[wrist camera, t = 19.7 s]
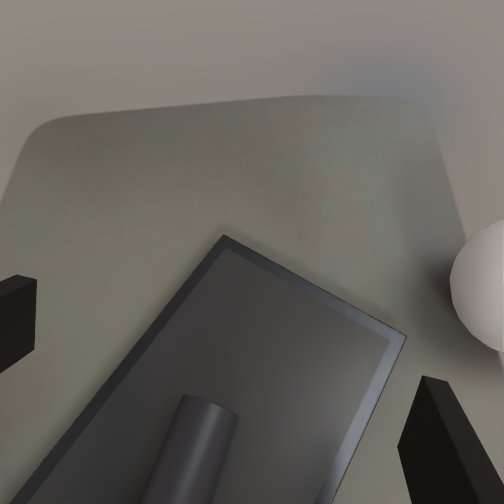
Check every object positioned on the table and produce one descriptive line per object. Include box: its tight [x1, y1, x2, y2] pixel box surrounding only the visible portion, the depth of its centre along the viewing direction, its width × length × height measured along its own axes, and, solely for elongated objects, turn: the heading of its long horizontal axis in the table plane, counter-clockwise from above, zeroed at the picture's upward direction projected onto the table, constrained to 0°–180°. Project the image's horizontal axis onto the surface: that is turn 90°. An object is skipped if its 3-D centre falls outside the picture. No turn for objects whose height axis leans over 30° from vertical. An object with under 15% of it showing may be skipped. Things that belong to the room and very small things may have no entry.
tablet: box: [10, 234, 407, 504], centre depth 20 cm, size 12×18×1 cm, turn 148°
